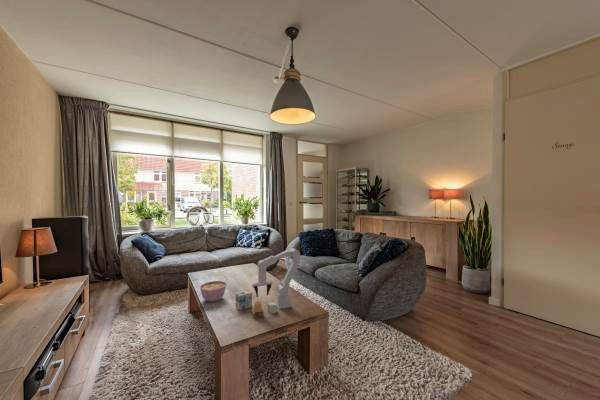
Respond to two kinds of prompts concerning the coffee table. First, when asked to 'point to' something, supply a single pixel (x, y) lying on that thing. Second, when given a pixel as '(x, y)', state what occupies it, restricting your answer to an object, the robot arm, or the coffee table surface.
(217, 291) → the bowl of food
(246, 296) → the light bulb box
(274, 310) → the sage cube
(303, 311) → the coffee table surface
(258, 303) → the terracotta cube
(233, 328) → the coffee table surface
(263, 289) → the coffee table surface
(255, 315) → the walnut base
